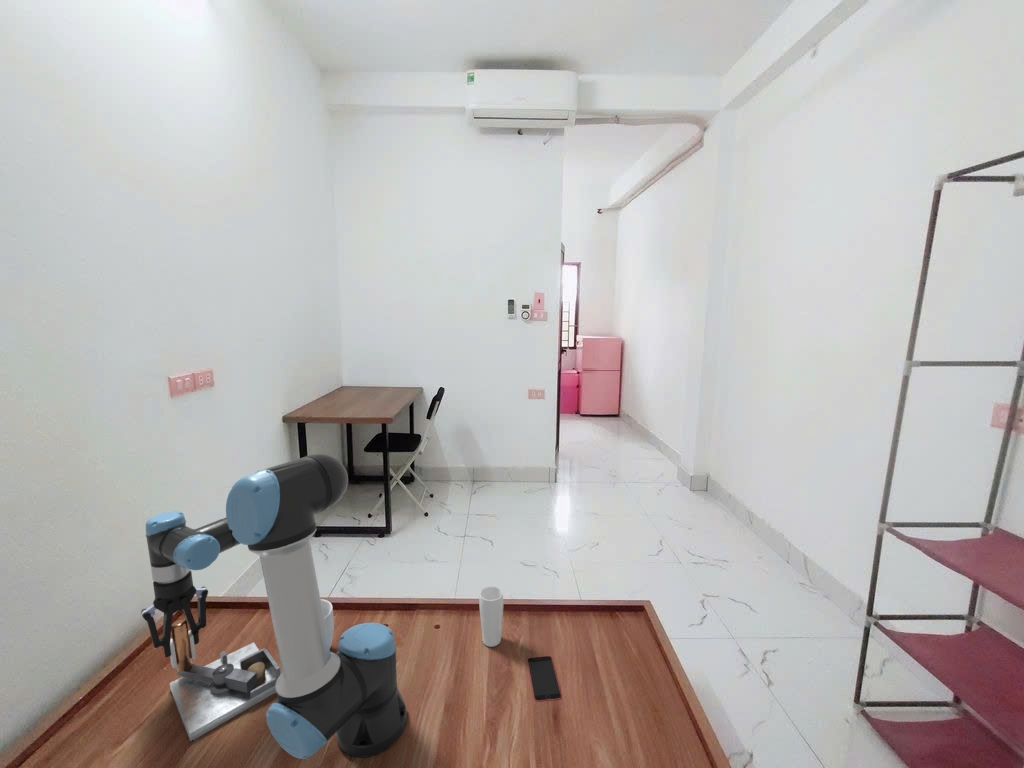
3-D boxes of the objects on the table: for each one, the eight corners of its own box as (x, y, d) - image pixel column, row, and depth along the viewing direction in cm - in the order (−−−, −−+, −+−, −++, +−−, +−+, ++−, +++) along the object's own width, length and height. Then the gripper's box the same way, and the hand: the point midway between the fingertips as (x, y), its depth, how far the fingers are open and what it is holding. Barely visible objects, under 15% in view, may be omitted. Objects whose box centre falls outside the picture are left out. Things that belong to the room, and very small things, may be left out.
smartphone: (534, 701, 108) (526, 657, 122) (534, 703, 108) (526, 659, 122) (562, 698, 109) (551, 655, 122) (562, 700, 109) (551, 657, 122)
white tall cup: (508, 638, 129) (507, 590, 127) (494, 653, 123) (494, 603, 121) (488, 629, 133) (488, 583, 130) (475, 643, 127) (474, 595, 125)
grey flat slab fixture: (281, 689, 112) (279, 667, 111) (190, 741, 98) (187, 717, 97) (254, 648, 125) (252, 629, 124) (170, 690, 112) (167, 668, 111)
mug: (343, 668, 118) (340, 623, 116) (297, 687, 112) (293, 640, 110) (331, 634, 131) (328, 593, 129) (289, 650, 125) (285, 607, 123)
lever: (259, 680, 111) (254, 631, 109) (245, 695, 107) (239, 643, 104) (188, 664, 116) (182, 617, 114) (172, 677, 112) (165, 628, 110)
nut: (268, 677, 113) (267, 666, 112) (252, 687, 110) (251, 675, 109) (261, 671, 115) (260, 659, 114) (246, 680, 112) (245, 668, 112)
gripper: (207, 556, 118) (216, 636, 121) (126, 583, 106) (139, 671, 110) (215, 567, 113) (225, 650, 116) (131, 597, 101) (145, 688, 105)
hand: (183, 660), depth 113 cm, fingers closed on lever, 3 cm apart
